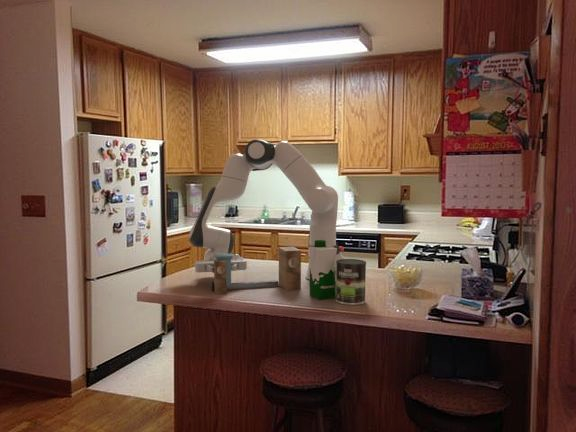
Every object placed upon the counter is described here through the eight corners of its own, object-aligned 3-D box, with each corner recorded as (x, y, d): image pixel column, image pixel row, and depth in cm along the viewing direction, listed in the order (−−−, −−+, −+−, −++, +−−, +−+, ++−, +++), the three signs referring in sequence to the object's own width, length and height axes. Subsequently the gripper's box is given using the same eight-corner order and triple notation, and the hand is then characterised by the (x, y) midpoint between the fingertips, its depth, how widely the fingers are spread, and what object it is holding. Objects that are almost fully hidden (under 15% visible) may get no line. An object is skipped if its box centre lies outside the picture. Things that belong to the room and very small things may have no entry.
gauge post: (224, 291, 186) (224, 259, 184) (227, 294, 181) (226, 261, 180) (214, 291, 184) (213, 260, 183) (216, 294, 180) (215, 262, 179)
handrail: (276, 284, 196) (276, 277, 196) (278, 286, 193) (278, 279, 193) (210, 289, 189) (210, 281, 188) (212, 291, 185) (211, 283, 185)
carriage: (229, 281, 192) (229, 253, 191) (232, 284, 186) (232, 255, 185) (214, 282, 190) (214, 254, 189) (216, 285, 184) (216, 256, 183)
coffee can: (362, 306, 165) (362, 264, 163) (332, 303, 168) (332, 262, 167) (368, 299, 174) (368, 259, 173) (339, 296, 178) (340, 258, 177)
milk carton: (327, 292, 184) (327, 239, 182) (339, 298, 175) (339, 242, 174) (306, 294, 180) (306, 240, 178) (317, 300, 172) (317, 244, 170)
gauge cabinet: (293, 283, 199) (293, 246, 197) (301, 289, 188) (301, 250, 187) (278, 284, 197) (278, 247, 195) (286, 290, 186) (286, 251, 185)
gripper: (192, 256, 197) (196, 262, 184) (242, 253, 203) (249, 259, 189) (192, 271, 197) (196, 279, 184) (242, 269, 203) (249, 275, 190)
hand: (223, 269), depth 187 cm, fingers open, 7 cm apart
